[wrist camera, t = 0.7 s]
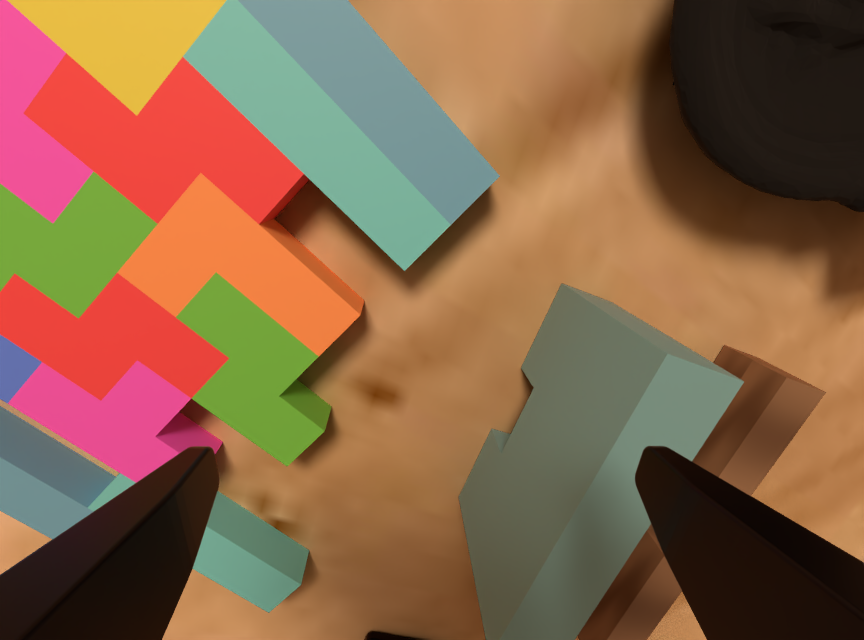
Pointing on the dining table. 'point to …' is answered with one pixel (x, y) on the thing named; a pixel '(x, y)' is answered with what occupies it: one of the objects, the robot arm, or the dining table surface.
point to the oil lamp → (775, 92)
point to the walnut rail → (724, 457)
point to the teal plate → (580, 464)
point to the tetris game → (193, 239)
